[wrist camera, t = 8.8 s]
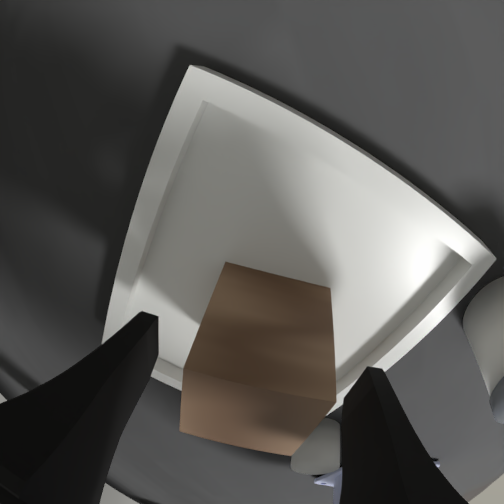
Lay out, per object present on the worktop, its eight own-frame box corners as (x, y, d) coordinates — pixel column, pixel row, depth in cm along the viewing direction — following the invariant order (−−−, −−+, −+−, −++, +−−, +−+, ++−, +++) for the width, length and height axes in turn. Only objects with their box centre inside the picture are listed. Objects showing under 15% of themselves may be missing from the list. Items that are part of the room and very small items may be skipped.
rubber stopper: (349, 424, 18) (350, 464, 15) (321, 440, 19) (320, 477, 17) (311, 412, 17) (309, 455, 15) (285, 430, 19) (281, 468, 16)
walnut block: (330, 287, 12) (336, 402, 7) (299, 355, 14) (291, 456, 9) (225, 261, 12) (183, 367, 7) (212, 334, 14) (179, 431, 10)
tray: (481, 240, 10) (496, 258, 9) (300, 414, 17) (298, 433, 16) (204, 66, 9) (189, 65, 8) (111, 332, 16) (100, 349, 15)
